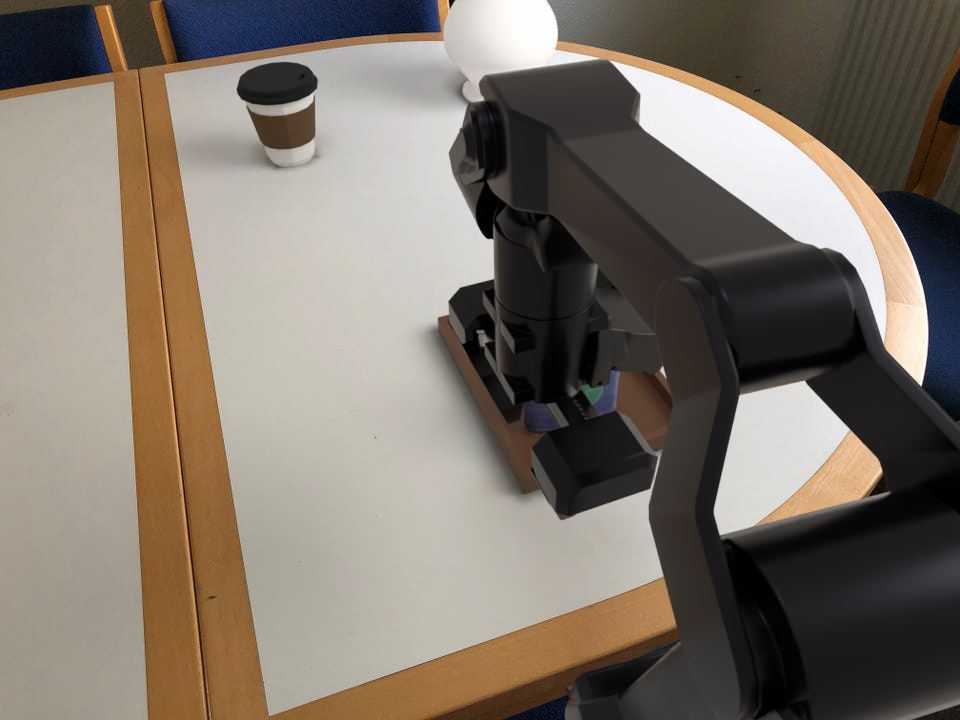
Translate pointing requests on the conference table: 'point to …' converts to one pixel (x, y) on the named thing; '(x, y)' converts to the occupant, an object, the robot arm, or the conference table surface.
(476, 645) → the conference table surface
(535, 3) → the decorative vase
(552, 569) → the conference table surface
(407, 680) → the conference table surface
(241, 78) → the coffee cup
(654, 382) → the serving tray
